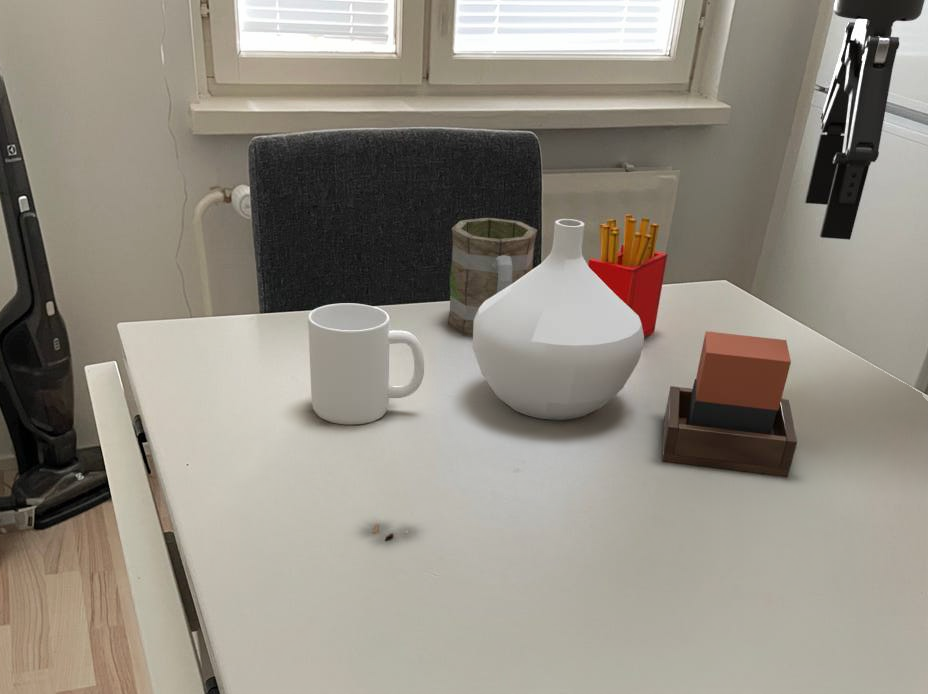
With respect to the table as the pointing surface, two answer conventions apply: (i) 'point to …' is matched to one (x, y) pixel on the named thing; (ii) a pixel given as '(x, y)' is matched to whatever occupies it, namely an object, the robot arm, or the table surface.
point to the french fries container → (632, 268)
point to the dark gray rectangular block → (729, 416)
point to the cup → (355, 362)
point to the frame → (727, 441)
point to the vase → (557, 336)
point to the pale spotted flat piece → (376, 527)
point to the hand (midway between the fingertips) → (826, 220)
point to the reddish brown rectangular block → (742, 370)
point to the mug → (485, 264)
